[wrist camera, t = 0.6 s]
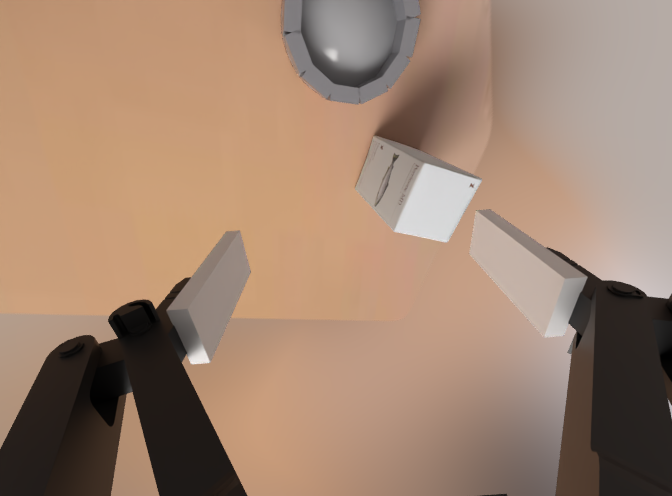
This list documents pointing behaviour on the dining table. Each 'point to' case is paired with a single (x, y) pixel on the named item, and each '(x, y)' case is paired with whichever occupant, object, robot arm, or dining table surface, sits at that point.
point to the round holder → (349, 44)
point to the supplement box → (415, 190)
